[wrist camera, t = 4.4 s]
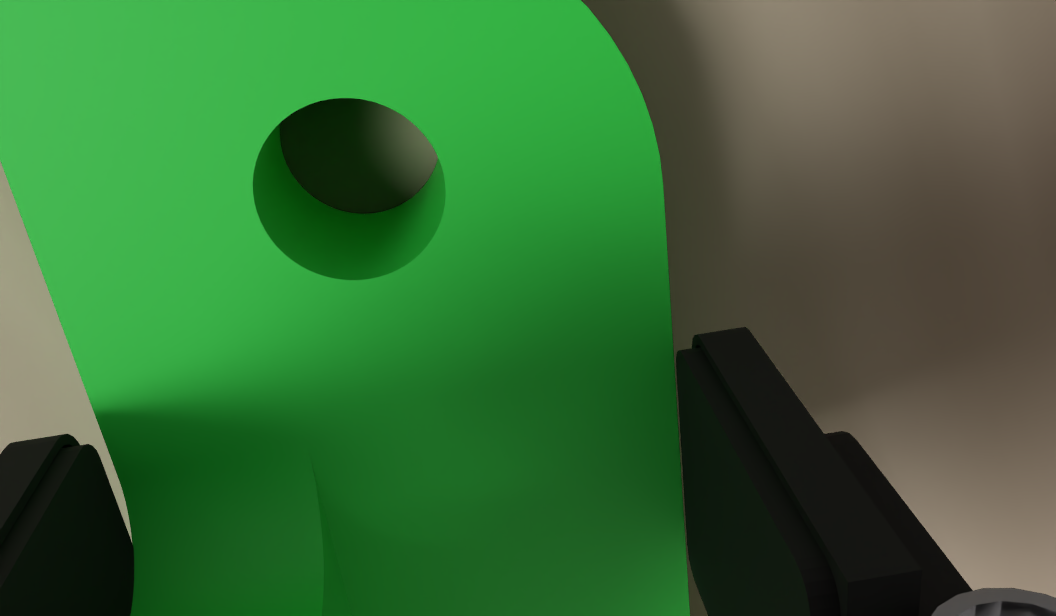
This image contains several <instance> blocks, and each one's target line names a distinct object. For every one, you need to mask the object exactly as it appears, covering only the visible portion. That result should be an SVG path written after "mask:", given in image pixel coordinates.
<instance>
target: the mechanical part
mask: <svg viewBox="0 0 1056 616" xmlns="http://www.w3.org/2000/svg"><path fill="white" fill-rule="evenodd" d="M335 98H355V99H363V100H368V101H372V102H375V103H378V104H381V105H384V106H386V107H388V108H390V109H393V110H395V111H396V112H398V113H400V114H401V115H403V116H404V117H406V118H407V119H408V120H410V121H411V122H412V123H413V124H414V125H415V126H416V127H417V128H418V129H420V131H421V132H422V133H423V134H424V135H425V136H426V138H427V139H428V141H429V142H430V143H431V145H432V146H433V148H434V150H435V152H436V154H437V156H438V160H437V163H436V166H435V168H434V171H433V173H432V174H431V176H430V178H429V179H428V181H427V182H426V184H425V185H424V186H423V187H422V188H421V190H420V191H419V192H418V193H417V194H415V195H414V196H413V197H412V198H410V199H409V200H408V201H406V202H404V203H403V204H401V205H399V206H397V207H394V208H392V209H389V210H386V211H382V212H377V213H368V214H359V213H350V212H345V211H341V210H338V209H335V208H332V207H330V206H328V205H326V204H324V203H322V202H320V201H318V200H317V199H316V198H314V197H313V196H311V195H310V194H309V193H308V192H307V191H306V190H305V189H304V188H303V187H302V186H301V185H300V184H299V183H298V182H297V180H296V179H295V178H294V176H293V175H292V173H291V171H290V170H289V168H288V166H287V164H286V161H285V158H284V156H283V152H282V148H281V142H280V123H281V121H283V120H284V119H285V118H286V117H288V116H289V115H290V114H292V113H294V112H295V111H297V110H299V109H300V108H303V107H305V106H307V105H309V104H312V103H315V102H319V101H323V100H328V99H335ZM0 161H1V163H2V166H3V169H4V172H5V174H6V177H7V180H8V182H9V185H10V188H11V190H12V193H13V196H14V198H15V201H16V204H17V206H18V209H19V212H20V215H21V217H22V220H23V223H24V225H25V228H26V231H27V233H28V236H29V239H30V241H31V244H32V247H33V250H34V252H35V255H36V258H37V260H38V263H39V266H40V268H41V271H42V274H43V276H44V279H45V282H46V284H47V287H48V290H49V293H50V295H51V298H52V301H53V303H54V306H55V309H56V311H57V314H58V317H59V319H60V322H61V325H62V327H63V330H64V333H65V336H66V338H67V341H68V344H69V346H70V349H71V352H72V354H73V357H74V360H75V362H76V365H77V368H78V370H79V373H80V376H81V379H82V381H83V384H84V387H85V389H86V392H87V395H88V397H89V400H90V403H91V405H92V408H93V411H94V413H95V416H96V419H97V422H98V424H99V427H100V430H101V432H102V435H103V438H104V440H105V443H106V446H107V448H108V451H109V454H110V456H111V459H112V462H113V465H114V467H115V470H116V473H117V475H118V478H119V481H120V484H121V487H122V490H123V494H124V497H125V501H126V505H127V510H128V515H129V520H130V527H131V534H132V544H133V547H134V592H133V601H132V609H131V615H130V616H690V607H689V591H688V575H687V559H686V543H685V527H684V511H683V494H682V478H681V462H680V446H679V430H678V414H677V398H676V382H675V366H674V350H673V334H672V318H671V302H670V285H669V269H668V253H667V237H666V221H665V205H664V189H663V179H662V170H661V162H660V154H659V150H658V146H657V141H656V137H655V133H654V128H653V124H652V121H651V118H650V116H649V113H648V110H647V107H646V104H645V101H644V98H643V95H642V93H641V91H640V89H639V87H638V85H637V82H636V80H635V78H634V76H633V74H632V72H631V70H630V68H629V66H628V64H627V62H626V61H625V59H624V57H623V56H622V54H621V52H620V51H619V49H618V48H617V46H616V44H615V43H614V41H613V40H612V38H611V36H610V35H609V34H608V32H607V31H606V30H605V29H604V27H603V26H602V25H601V23H600V22H599V21H598V20H597V18H596V17H595V16H594V14H593V13H592V12H591V11H590V9H589V8H588V7H587V6H586V5H585V4H584V3H583V2H582V1H581V0H0Z"/></svg>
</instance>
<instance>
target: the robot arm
mask: <svg viewBox="0 0 1056 616" xmlns="http://www.w3.org/2000/svg"><path fill="white" fill-rule="evenodd" d="M676 368H677V384H678V401H679V417H680V433H681V450H682V466H683V482H684V499H685V515H686V531H687V546H688V555H689V561H690V565H691V570H692V573H693V577H694V580H695V583H696V585H697V588H698V590H699V593H700V596H701V598H702V601H703V603H704V606H705V608H706V611H707V614H708V616H1056V598H1054V597H1051V596H1049V595H1046V594H1042V593H1037V592H1031V591H1026V590H1021V589H1015V588H983V589H979V590H974V591H973V590H972V589H971V588H970V587H969V585H968V584H967V583H966V581H965V580H964V579H963V578H962V576H961V575H960V574H959V572H958V571H957V570H956V568H955V567H954V566H953V565H952V563H951V562H950V561H949V559H948V558H947V557H946V555H945V554H944V553H943V552H942V550H941V549H940V548H939V546H938V545H937V544H936V542H935V541H934V540H933V539H932V537H931V536H930V535H929V533H928V532H927V531H926V530H925V528H924V527H923V526H922V524H921V523H920V522H919V520H918V519H917V518H916V517H915V515H914V514H913V513H912V511H911V510H910V509H909V507H908V506H907V505H906V504H905V502H904V501H903V500H902V498H901V497H900V496H899V494H898V493H897V492H896V491H895V489H894V488H893V487H892V485H891V484H890V483H889V482H888V480H887V479H886V478H885V476H884V475H883V474H882V472H881V471H880V470H879V469H878V467H877V466H876V465H875V463H874V462H873V461H872V459H871V458H870V457H869V456H868V454H867V453H866V452H865V450H864V449H863V448H862V446H861V445H860V444H859V443H858V441H857V440H856V439H855V438H854V437H853V436H852V435H851V434H850V433H847V432H843V431H841V432H834V433H828V434H824V433H823V432H822V431H821V429H820V428H819V426H818V425H817V424H816V422H815V421H814V419H813V418H812V417H811V415H810V414H809V413H808V411H807V410H806V408H805V407H804V406H803V404H802V403H801V401H800V400H799V399H798V397H797V396H796V395H795V393H794V392H793V390H792V389H791V388H790V386H789V385H788V383H787V382H786V381H785V379H784V378H783V377H782V375H781V374H780V372H779V371H778V370H777V368H776V367H775V365H774V364H773V363H772V361H771V360H770V358H769V357H768V356H767V354H766V353H765V352H764V350H763V349H762V347H761V346H760V345H759V343H758V342H757V340H756V339H755V338H754V336H753V335H752V334H751V332H750V331H749V330H748V329H747V328H746V327H742V328H736V329H729V330H723V331H717V332H710V333H704V334H697V335H694V337H693V341H692V349H686V350H680V351H678V352H677V356H676ZM133 592H134V547H133V544H132V542H131V539H130V536H129V534H128V531H127V528H126V526H125V523H124V520H123V518H122V515H121V512H120V510H119V507H118V504H117V502H116V499H115V496H114V494H113V491H112V488H111V486H110V483H109V480H108V478H107V475H106V472H105V470H104V467H103V464H102V462H101V459H100V457H99V454H98V452H97V450H96V449H95V448H94V447H93V446H92V445H89V444H86V445H80V444H79V443H78V441H77V440H76V439H75V438H74V437H73V436H71V435H69V434H63V435H57V436H51V437H44V438H38V439H32V440H25V441H19V442H14V443H10V444H9V445H8V446H7V447H6V448H5V449H4V450H3V451H2V453H1V454H0V616H130V615H131V609H132V601H133Z"/></svg>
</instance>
